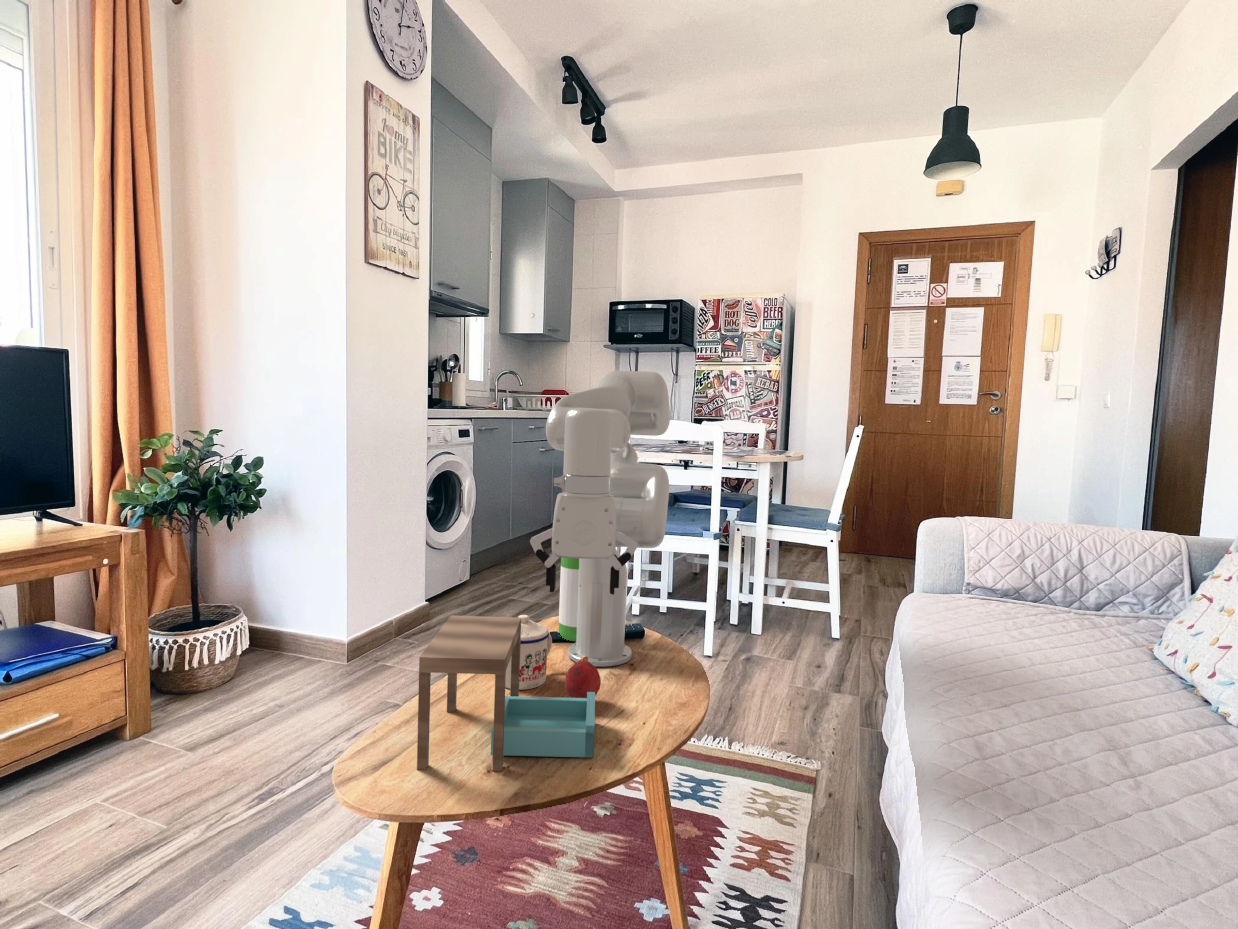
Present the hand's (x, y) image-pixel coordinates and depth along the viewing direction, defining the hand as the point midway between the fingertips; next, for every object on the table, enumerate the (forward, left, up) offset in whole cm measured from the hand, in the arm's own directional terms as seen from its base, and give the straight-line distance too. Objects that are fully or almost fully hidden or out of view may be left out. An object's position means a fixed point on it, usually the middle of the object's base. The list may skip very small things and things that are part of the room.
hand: (582, 591), depth 105 cm
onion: (0, +1, -19) cm, 19 cm away
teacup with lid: (-10, -9, -19) cm, 24 cm away
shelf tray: (+12, -4, -19) cm, 23 cm away
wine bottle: (-33, -1, -19) cm, 38 cm away
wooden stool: (+12, -15, -19) cm, 27 cm away
